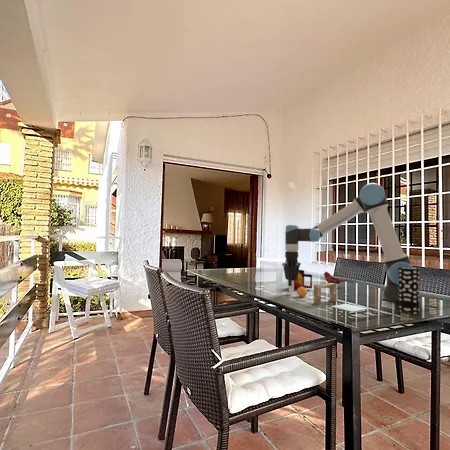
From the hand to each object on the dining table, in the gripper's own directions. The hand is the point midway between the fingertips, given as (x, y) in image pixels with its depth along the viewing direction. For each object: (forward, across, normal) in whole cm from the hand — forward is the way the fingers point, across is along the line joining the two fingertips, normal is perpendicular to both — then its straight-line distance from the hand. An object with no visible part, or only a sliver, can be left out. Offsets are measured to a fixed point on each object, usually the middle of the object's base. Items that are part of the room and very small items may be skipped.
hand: (291, 291), depth 178 cm
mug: (+2, -19, -11) cm, 22 cm away
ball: (-1, 0, +8) cm, 8 cm away
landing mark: (+2, 0, +38) cm, 38 cm away
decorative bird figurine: (+2, -46, -5) cm, 46 cm away
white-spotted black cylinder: (+2, -19, +56) cm, 59 cm away
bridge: (+2, 0, +24) cm, 24 cm away
